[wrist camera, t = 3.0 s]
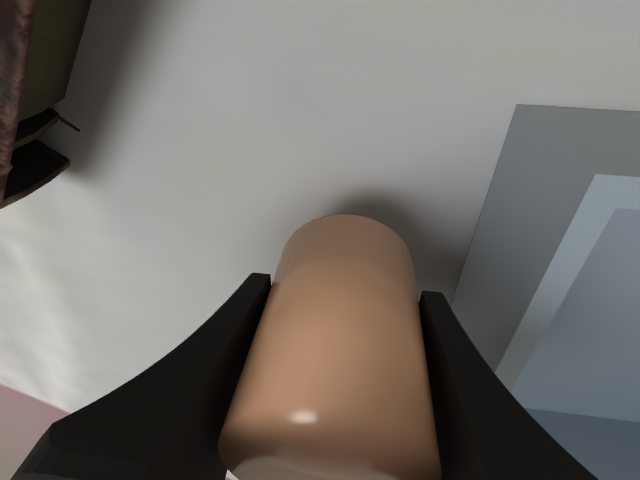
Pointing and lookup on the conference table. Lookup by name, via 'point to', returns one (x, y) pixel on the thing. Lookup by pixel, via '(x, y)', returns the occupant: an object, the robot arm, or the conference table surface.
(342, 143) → the conference table surface
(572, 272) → the box
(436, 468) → the terracotta cylinder
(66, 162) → the diary
